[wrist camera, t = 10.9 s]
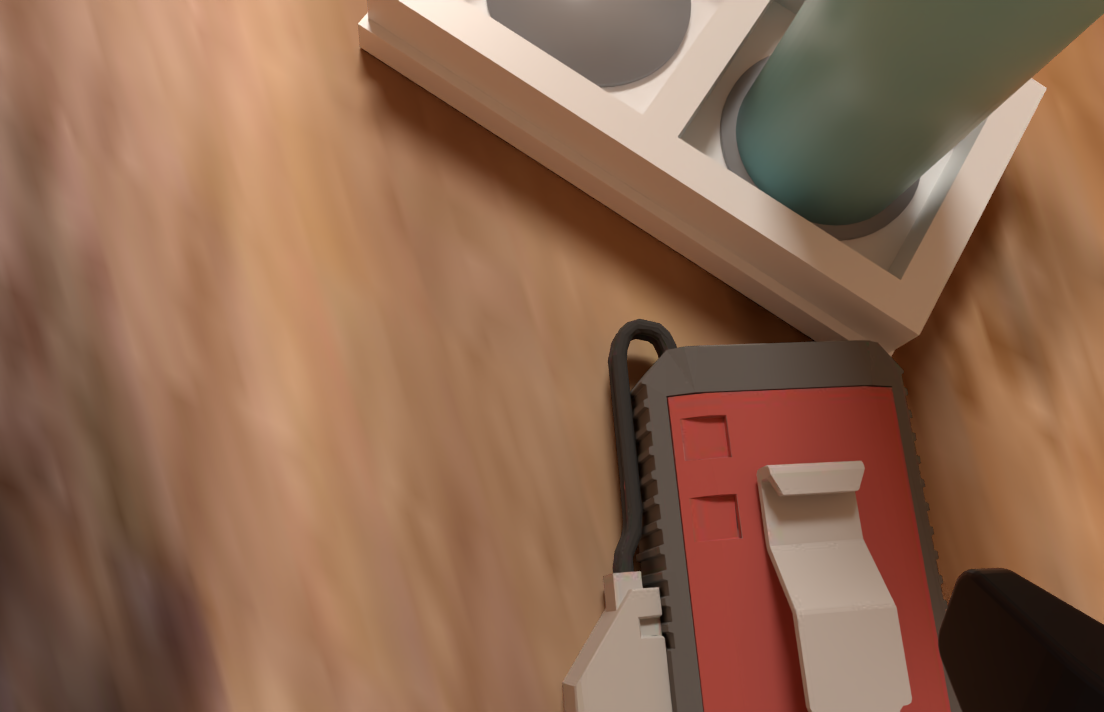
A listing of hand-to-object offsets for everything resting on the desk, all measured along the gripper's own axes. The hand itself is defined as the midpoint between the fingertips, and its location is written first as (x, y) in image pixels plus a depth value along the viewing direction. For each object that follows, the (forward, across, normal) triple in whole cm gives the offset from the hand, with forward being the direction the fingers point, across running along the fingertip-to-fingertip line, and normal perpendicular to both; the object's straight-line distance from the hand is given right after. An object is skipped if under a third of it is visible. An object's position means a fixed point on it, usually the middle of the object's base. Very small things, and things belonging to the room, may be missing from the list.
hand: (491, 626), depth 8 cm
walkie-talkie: (+8, -7, +12) cm, 16 cm away
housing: (+20, -7, 0) cm, 21 cm away
